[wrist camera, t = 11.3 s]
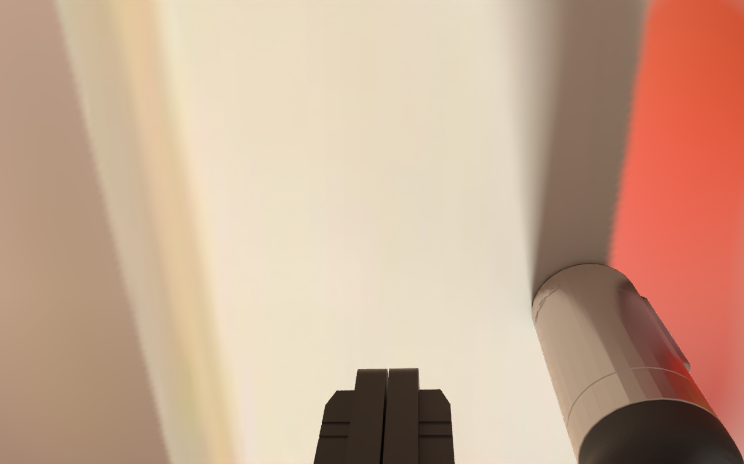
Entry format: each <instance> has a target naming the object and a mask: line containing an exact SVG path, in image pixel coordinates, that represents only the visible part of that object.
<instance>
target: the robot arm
mask: <svg viewBox="0 0 744 464" xmlns="http://www.w3.org/2000/svg"><path fill="white" fill-rule="evenodd" d="M532 318H533V322H534V325H535V328H536V332H537V335H538V338H539V341H540V345H541V349H542V352H543V355H544V358H545V361H546V365H547V368H548V371H549V374H550V377H551V381H552V384H553V387H554V390H555V393H556V397H557V400H558V403H559V406H560V409H561V413H562V416H563V419H564V422H565V425H566V429H567V432H568V435H569V438H570V441H571V444H572V447H573V451H574V454H575V457H576V460H577V463H578V464H744V461H743V458H742V456H741V454H740V451H739V450H738V448H737V446H736V444H735V442H734V441H733V439H732V438H731V436H730V435H729V433H728V432H727V430H726V428H725V427H724V426H723V424H722V423H721V421H720V419H719V418H718V417H717V415H716V413H715V412H714V410H713V409H712V407H711V406H710V404H709V402H708V401H707V399H706V398H705V396H704V395H703V393H702V392H701V390H700V389H699V387H698V386H697V384H696V383H695V381H694V379H693V378H692V376H691V375H690V373H689V371H690V363H689V362H688V360H687V358H686V357H685V355H684V354H683V352H682V351H681V349H680V348H679V346H678V345H677V343H676V342H675V340H674V339H673V338H672V336H671V334H670V333H669V331H668V330H667V328H666V327H665V325H664V324H663V322H662V321H661V319H660V318H659V316H658V314H657V313H656V312H655V310H654V308H653V307H652V305H651V304H650V302H649V301H648V299H647V298H644V297H642V296H640V295H639V293H638V292H637V290H636V289H635V287H634V286H633V284H632V283H631V282H630V281H629V279H628V278H627V277H626V276H625V275H623V274H622V273H621V272H619V271H618V270H616V269H613V268H611V267H608V266H604V265H599V264H582V265H576V266H572V267H569V268H567V269H564V270H562V271H560V272H558V273H557V274H555V275H553V276H552V277H551V278H549V279H548V280H547V281H546V282H545V283H544V284H543V285H542V287H541V288H540V289H539V291H538V292H537V294H536V297H535V299H534V302H533V307H532ZM314 464H455V462H454V449H453V435H452V421H451V408H450V403H449V402H448V400H447V399H446V397H445V396H444V394H443V393H442V391H441V390H440V389H436V390H419V370H418V368H404V369H389V377H388V370H387V369H358V371H357V377H356V384H355V390H345V391H336V392H335V394H334V395H333V396H332V397H331V399H330V400H329V401H328V403H327V404H326V405H325V410H324V415H323V420H322V425H321V430H320V435H319V440H318V444H317V449H316V454H315V459H314Z"/></svg>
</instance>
